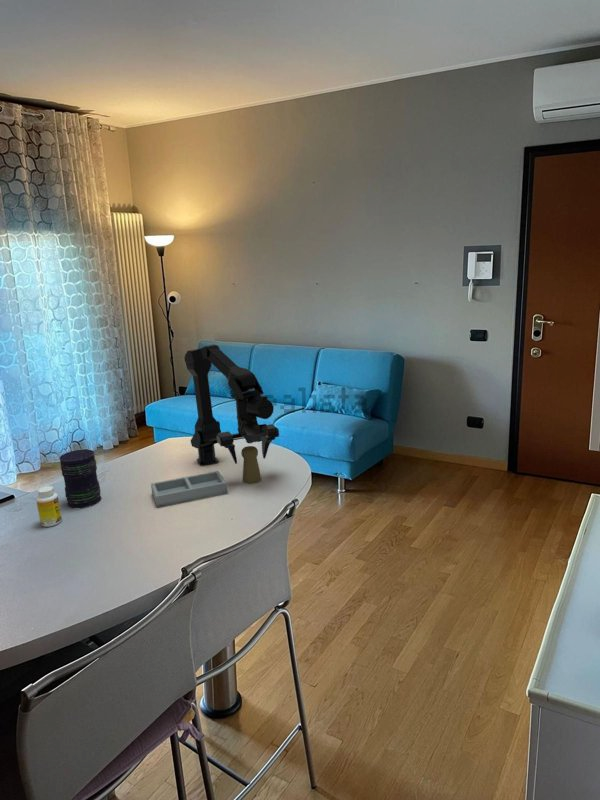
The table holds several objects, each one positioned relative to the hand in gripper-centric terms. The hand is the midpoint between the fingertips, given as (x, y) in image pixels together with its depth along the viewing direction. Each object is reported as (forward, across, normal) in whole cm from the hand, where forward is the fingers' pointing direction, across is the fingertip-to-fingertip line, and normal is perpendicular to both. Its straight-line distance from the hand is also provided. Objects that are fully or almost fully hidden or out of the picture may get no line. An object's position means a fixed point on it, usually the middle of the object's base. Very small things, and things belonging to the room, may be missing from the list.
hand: (250, 460), depth 183 cm
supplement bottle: (+7, -59, -2) cm, 59 cm away
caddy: (+6, -20, -1) cm, 21 cm away
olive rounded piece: (+7, 0, 0) cm, 7 cm away
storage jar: (+7, -50, +9) cm, 51 cm away
